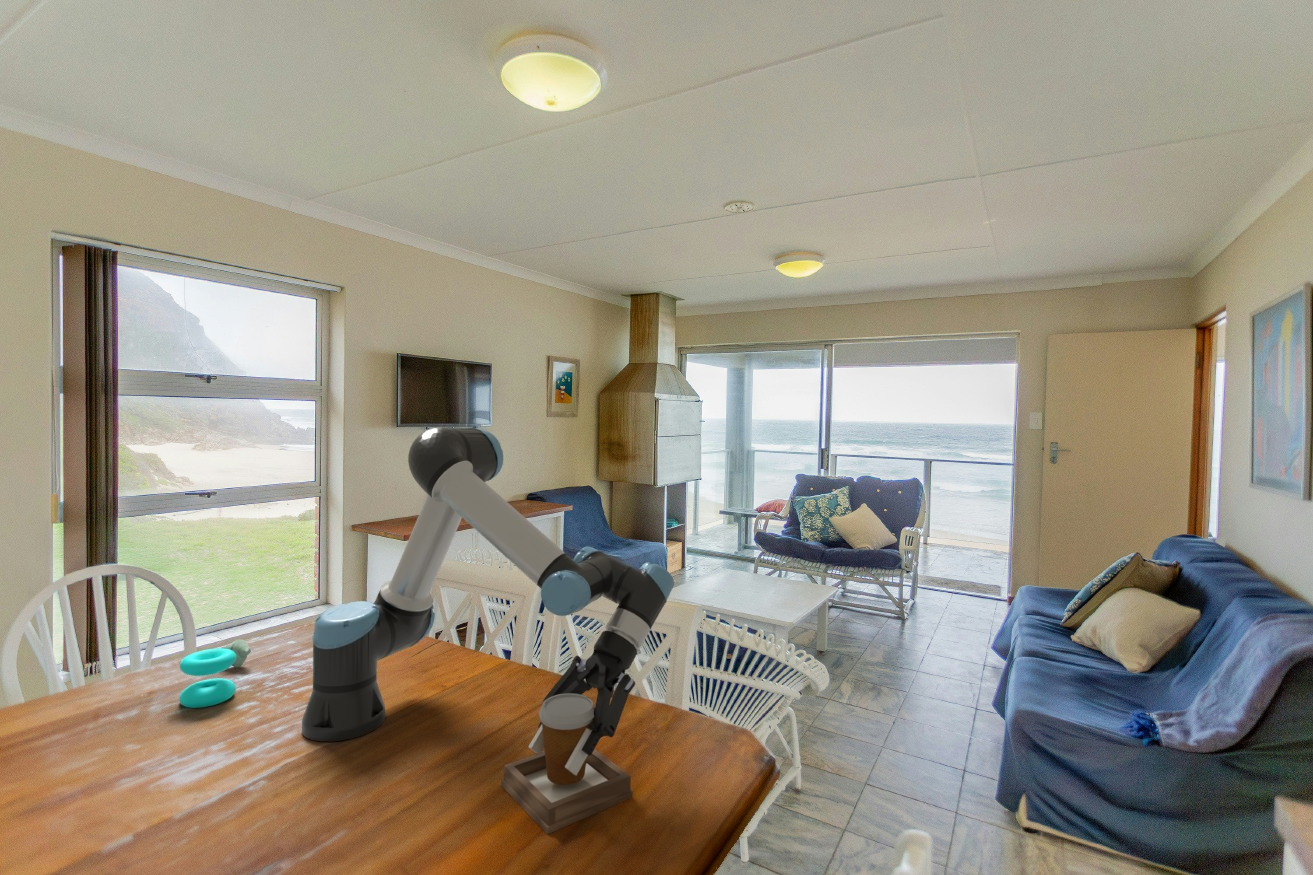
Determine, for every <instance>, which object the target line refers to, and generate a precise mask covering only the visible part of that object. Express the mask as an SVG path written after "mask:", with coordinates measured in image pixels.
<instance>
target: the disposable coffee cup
mask: <svg viewBox="0 0 1313 875" xmlns="http://www.w3.org/2000/svg"><path fill="white" fill-rule="evenodd" d="M594 711H595V706H594V702H593V700H592V699H591V698H590V697H588V696H586V695H584V694H582V695H580V694H573V693H567V694H559V695H555V696H552V697H549V698H548V699H546V700H545V701H544V702H543V701H542V704H541V708H540V709H539V710H538V717H539V719H540V722H542V728H543V739H544V749H543V750H544V751H545V759H546V769H547V778H548V779H549V781H551V782H552V783H554V784H558V785H571V784H574V783H577V782H579V781H580V780H582V779H583V777H584V775H585V768H586V762H587V757H586V759H585V761H584V763H583V765H582V766H581V768H580V770H579V772H578V774H577V776H576V775H574V774H573V773H571V772H570V771H569V770H568V769H566V768H565V765H566V763H567V762H568V760H569V758H570V756H571V755H572V753H573V751H574V749H575V747H576V746H577V744H578V742H579V740H580V739H581V737H582V735H583V733H584V731H585V730H586V728H587V729H589V730H591V729H590V728H589V725H590V726H591V725H592V722H593V718H594ZM591 731H592V730H591Z"/></svg>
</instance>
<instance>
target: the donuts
mask: <svg viewBox="0 0 1313 875" xmlns="http://www.w3.org/2000/svg"><path fill="white" fill-rule="evenodd" d="M235 660H236V654H235V652H234V651H232V650H230V649H224V648H222V647H220V648H208V649H203V650H198V651H195V652H193V653H191V654H188V655H187V656H185V657H184V658H182V660H181V662H180V663H179V669H180V671H181V672H182V673H183V674H185V675H186V676H188V675H189V676H192V677H193V676H194V677H204V676H209V675H215V674H218V673H221V672H223V671H225V670H228V669H229V668H230V667H233V666H232V665H233V664H234V662H235ZM235 693H236V684H235V683H234V682H233V681H232V680H229V679H227V678H222V677H220V678H218V677H217V678H209V679H204V680H200V681H197V682H194V683H192V684H190V685H188V686H187V687H186V688H184V689H182V691H181V692H180V695H179V699H178V701H179V702H180V704H181V705H182V706H183V707H186V708H192V709H199V708H200V709H201V708H206V707H211V706H215V705H218V704H221V703H224V702H226V701H228V700H229V699H231V698H232V697H233V696H234V694H235Z"/></svg>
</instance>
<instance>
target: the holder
mask: <svg viewBox="0 0 1313 875" xmlns="http://www.w3.org/2000/svg"><path fill="white" fill-rule="evenodd" d="M503 765H504V766H503V778H502V779H501V785H500V786H501V787H502V788H503V789H504V790H505V791H506V792H507V793H508V795H509V796H510V797H511V798H512V799H513V800H514V801H515V802H516V803H517V805H519V806H520V807H521V808H522V809H523V810H524V812H526V814H528V815H529V817H530V818H531V819H532V820H534V822H535V823H536V824H537V825H538V826H539V827H540V828H541V830H543V831H544V833H545V834H546V835H549V834H552V833H554V832H556V831H558V830H560V829H562V828H565V827H568V826H570V825H572V824H574V823H577V822H580V821H581V820H583V819H586V818H588V817H590V816H593V815H595V814H597V813H600V812H602V811H604V810H607V809H608V808H611V807H613V806H615V805H618V804H620V803H622V802H624V801H627V800H629V799H632V798H633V796H634V793H633V792H634V791H633V789H631V777H632V776H631V775H630V774H628V772H626V771H625V770H624V769H622V768H621V767H620V766H618V765H617V764H616V763H614V762H613V761H611V760H610V759H609V758H608V757H606V756H605V755H604V754H602V753H601V752H599V751H598V750H597V749H596V748H595V749H594V751H593V753H592V754H591V755H590V756H589V755H587V762H586V768H585V775H584V777H583V779H582V780H580V781H579V782H577V783H574V784H571V785H558V784H554V783H552V782H551V781H549V779H548V778H547V769H546V759H545V750H544V751H542V752H541V754H540V755H538V754H537V753H535V754H533V755H531V756H528V757H527V756H526V757H524V758H521V759H519V760H516V761H513V762H509V763H507V764H503Z"/></svg>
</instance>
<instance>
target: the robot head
mask: <svg viewBox="0 0 1313 875" xmlns="http://www.w3.org/2000/svg"><path fill="white" fill-rule="evenodd" d="M221 648H224V649H230V650H232V651H234V652H235V654H236V660H235V662H234V664H233V665H232V666H231V667H234V668H236V669H237V668H240V667H242V665H244V663H245V662H246V660H247V658H248V655H250V653H251V652H252V651H251V648H250V647H249V643H248V642H247V641H246V640H245V639H242V638H241V639H240V638H239V639H236V640H234V641H233V642H231V643H229V644H227V645H224V646H222V647H221Z"/></svg>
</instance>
